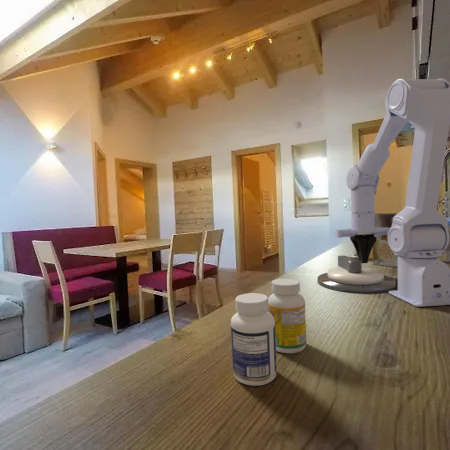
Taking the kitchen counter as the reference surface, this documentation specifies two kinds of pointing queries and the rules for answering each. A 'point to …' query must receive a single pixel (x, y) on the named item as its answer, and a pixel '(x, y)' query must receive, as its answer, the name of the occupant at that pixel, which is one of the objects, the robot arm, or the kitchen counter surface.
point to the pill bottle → (253, 340)
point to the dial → (354, 272)
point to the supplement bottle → (288, 315)
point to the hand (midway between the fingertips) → (363, 262)
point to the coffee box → (384, 242)
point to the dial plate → (374, 288)
